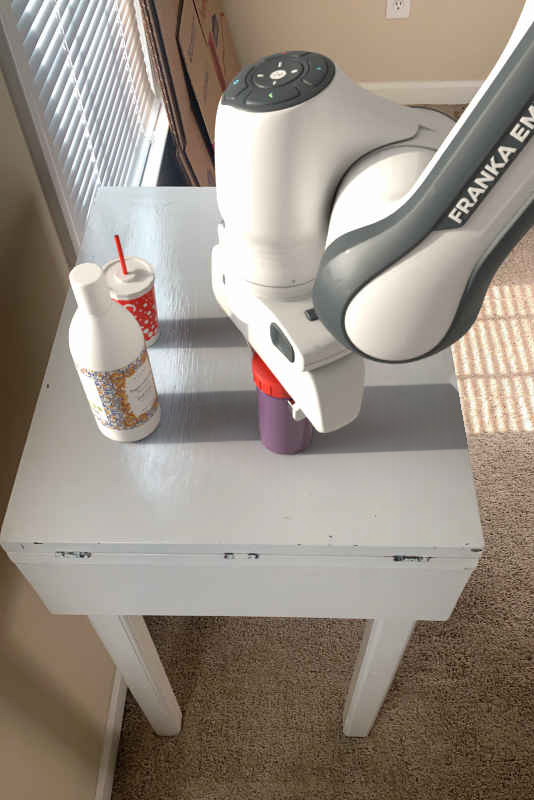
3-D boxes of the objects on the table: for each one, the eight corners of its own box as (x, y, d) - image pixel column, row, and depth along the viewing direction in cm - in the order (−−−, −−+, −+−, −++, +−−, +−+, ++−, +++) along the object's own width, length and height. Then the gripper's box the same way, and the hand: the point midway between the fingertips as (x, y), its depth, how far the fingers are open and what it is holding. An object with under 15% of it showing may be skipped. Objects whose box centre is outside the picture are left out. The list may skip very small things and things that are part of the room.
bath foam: (134, 455, 72) (89, 314, 55) (84, 426, 74) (27, 282, 57) (175, 411, 75) (144, 264, 58) (126, 384, 77) (82, 236, 60)
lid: (241, 365, 66) (240, 351, 64) (296, 341, 67) (296, 327, 66) (272, 408, 63) (271, 394, 61) (328, 382, 64) (329, 368, 63)
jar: (295, 405, 75) (295, 335, 66) (321, 440, 72) (325, 373, 63) (250, 425, 74) (244, 357, 65) (275, 463, 71) (273, 397, 62)
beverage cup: (103, 339, 81) (73, 241, 69) (138, 309, 84) (114, 209, 72) (142, 361, 79) (118, 264, 67) (176, 329, 82) (159, 231, 70)
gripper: (187, 220, 59) (203, 335, 71) (313, 375, 49) (307, 478, 61) (250, 196, 61) (256, 312, 72) (385, 341, 51) (366, 448, 63)
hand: (280, 389), depth 67 cm, fingers closed on jar, 5 cm apart
